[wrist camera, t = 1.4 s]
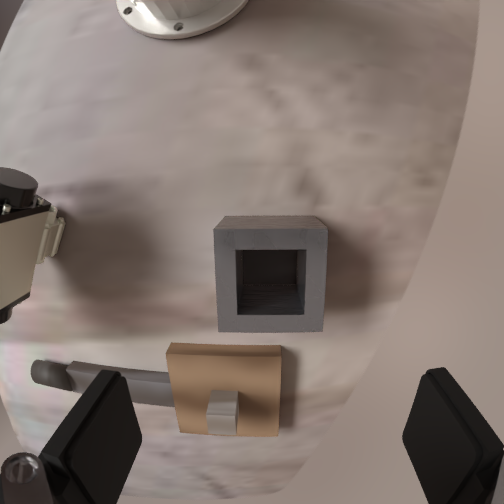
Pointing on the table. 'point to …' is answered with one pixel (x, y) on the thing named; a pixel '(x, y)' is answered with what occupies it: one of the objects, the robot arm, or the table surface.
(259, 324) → the hollow grey cube
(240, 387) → the mallet
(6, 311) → the pneumatic valve
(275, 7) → the table surface
